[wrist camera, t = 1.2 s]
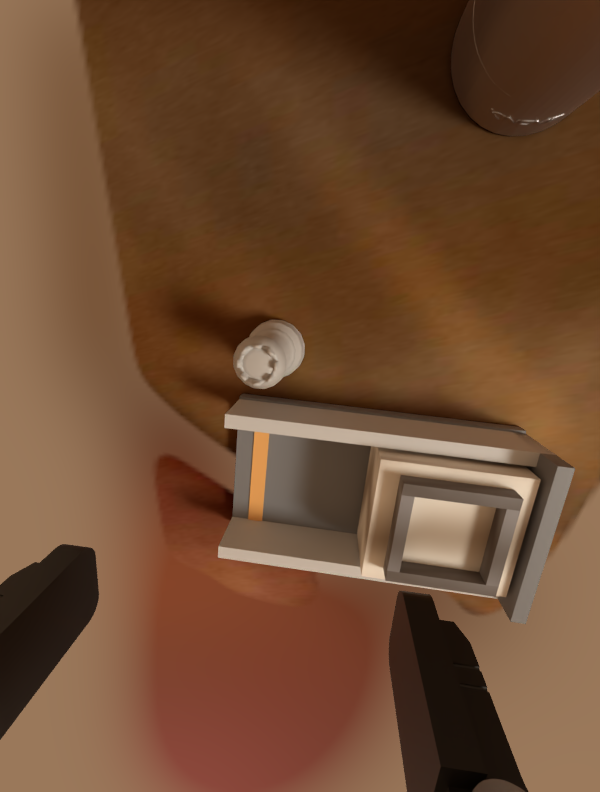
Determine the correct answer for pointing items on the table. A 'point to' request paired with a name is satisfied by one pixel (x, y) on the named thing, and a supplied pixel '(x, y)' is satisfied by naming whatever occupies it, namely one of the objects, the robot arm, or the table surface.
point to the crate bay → (362, 483)
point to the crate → (443, 520)
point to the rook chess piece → (269, 354)
